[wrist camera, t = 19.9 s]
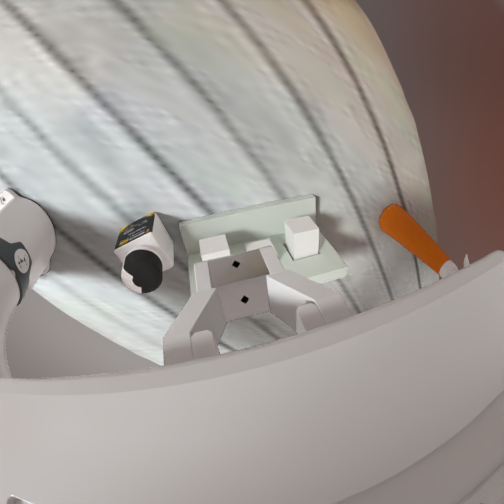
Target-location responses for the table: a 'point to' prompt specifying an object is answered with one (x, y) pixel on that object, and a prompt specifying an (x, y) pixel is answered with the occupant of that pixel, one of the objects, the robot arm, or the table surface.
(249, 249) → the button cream
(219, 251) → the button charcoal
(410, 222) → the spray bottle
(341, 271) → the panel
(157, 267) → the medicine bottle
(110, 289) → the table surface
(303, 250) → the button terracotta
